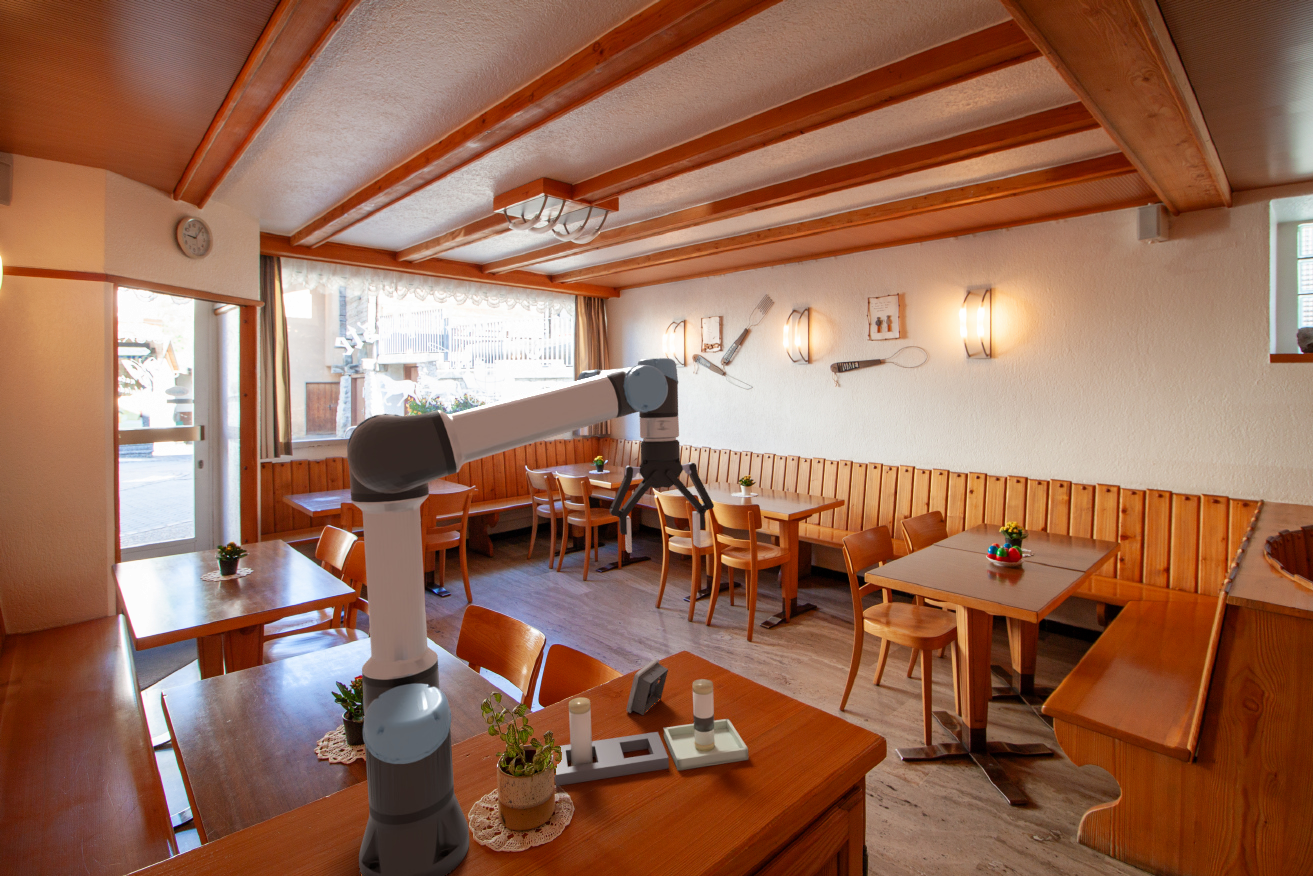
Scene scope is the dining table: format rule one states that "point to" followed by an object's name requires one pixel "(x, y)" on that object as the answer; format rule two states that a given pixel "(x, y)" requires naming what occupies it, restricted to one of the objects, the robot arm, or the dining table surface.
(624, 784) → the dining table surface
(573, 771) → the fuse block
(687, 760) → the parts tray
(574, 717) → the fuse
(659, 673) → the electrical switch
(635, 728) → the dining table surface
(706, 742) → the fuse
